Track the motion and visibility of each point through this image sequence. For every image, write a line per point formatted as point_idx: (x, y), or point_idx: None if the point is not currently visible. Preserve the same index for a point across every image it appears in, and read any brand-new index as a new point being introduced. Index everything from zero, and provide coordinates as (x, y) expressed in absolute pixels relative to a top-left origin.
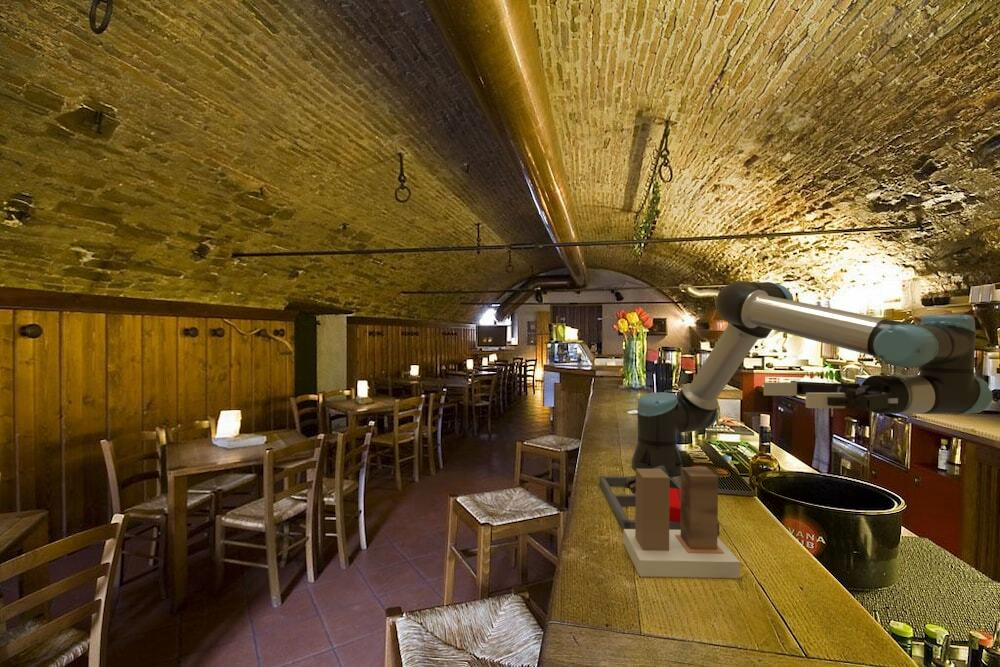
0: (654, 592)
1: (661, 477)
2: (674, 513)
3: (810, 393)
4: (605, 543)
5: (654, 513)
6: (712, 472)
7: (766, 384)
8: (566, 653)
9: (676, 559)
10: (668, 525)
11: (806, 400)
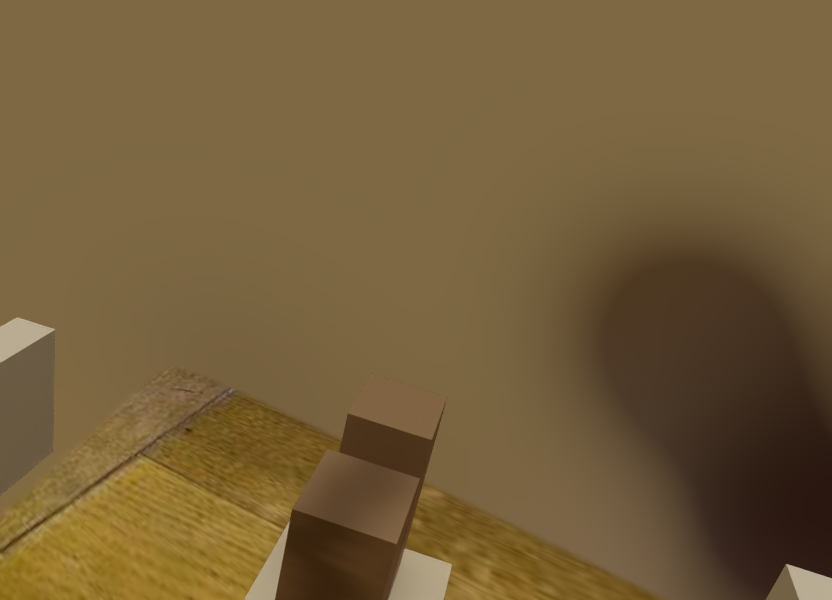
0: (225, 533)
1: (356, 400)
2: None
3: (4, 326)
4: (448, 558)
5: None
6: (336, 522)
7: (780, 588)
8: (167, 374)
9: (263, 578)
10: None
11: (44, 392)
